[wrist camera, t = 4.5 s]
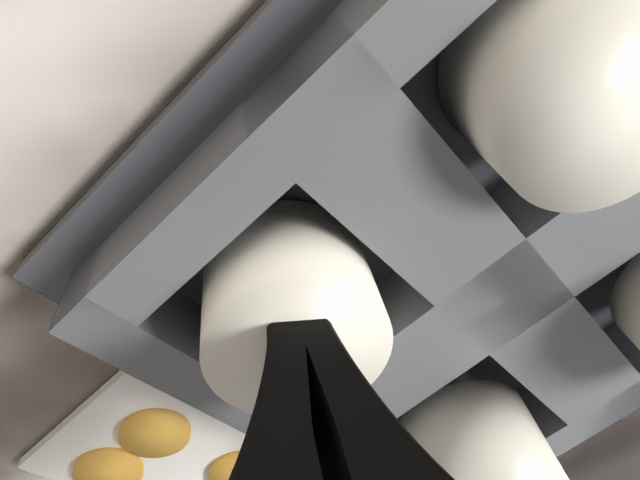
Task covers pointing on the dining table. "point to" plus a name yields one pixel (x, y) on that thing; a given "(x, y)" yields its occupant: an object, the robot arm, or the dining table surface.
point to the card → (135, 439)
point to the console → (348, 222)
